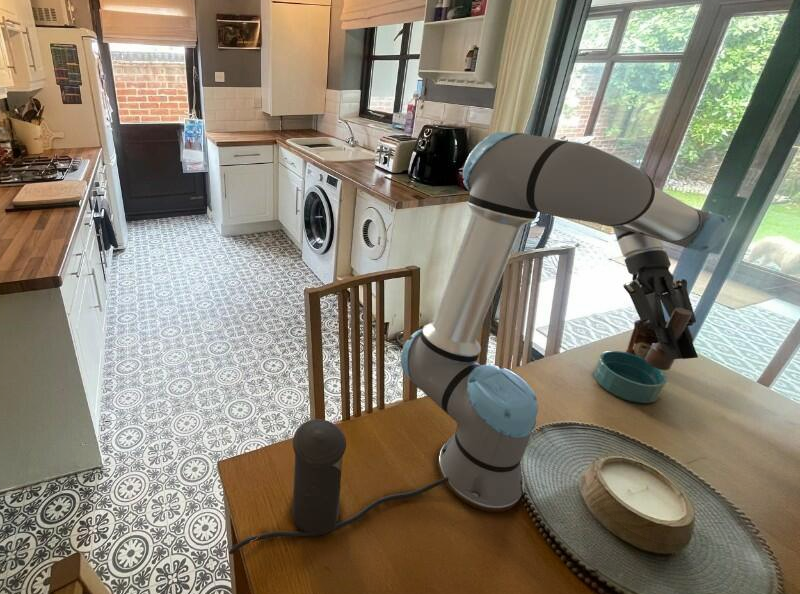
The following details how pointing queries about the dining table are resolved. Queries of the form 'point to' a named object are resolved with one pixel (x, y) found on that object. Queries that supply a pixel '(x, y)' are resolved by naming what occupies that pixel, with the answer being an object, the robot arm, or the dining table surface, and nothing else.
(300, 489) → the container
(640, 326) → the coffee cup
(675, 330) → the pestle
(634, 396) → the bowl
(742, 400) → the dining table surface
